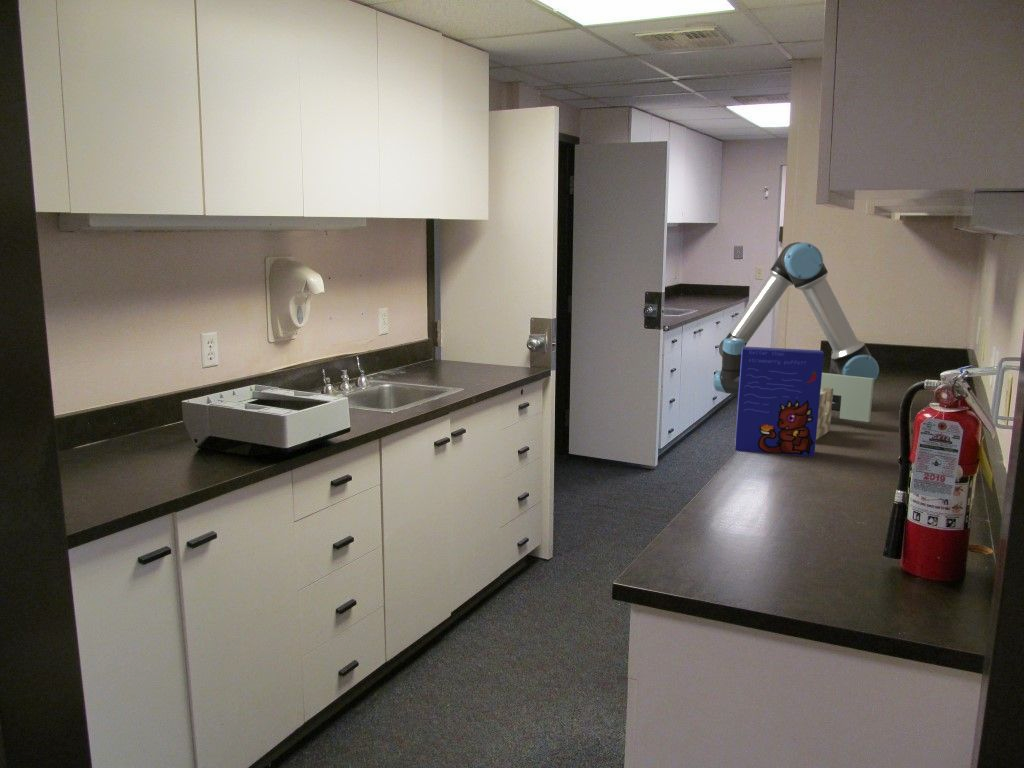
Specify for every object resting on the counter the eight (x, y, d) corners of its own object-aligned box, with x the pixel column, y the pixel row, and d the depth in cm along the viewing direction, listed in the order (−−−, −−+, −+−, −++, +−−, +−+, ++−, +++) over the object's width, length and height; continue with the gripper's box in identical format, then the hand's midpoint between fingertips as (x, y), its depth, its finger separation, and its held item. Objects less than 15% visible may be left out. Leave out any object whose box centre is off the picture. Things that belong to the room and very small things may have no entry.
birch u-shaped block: (821, 429, 265) (825, 387, 262) (829, 430, 263) (833, 388, 261) (802, 442, 249) (806, 397, 246) (810, 443, 248) (814, 398, 245)
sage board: (799, 412, 277) (802, 371, 274) (801, 411, 279) (804, 370, 276) (868, 422, 264) (872, 379, 262) (869, 420, 266) (874, 378, 264)
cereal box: (811, 451, 239) (821, 349, 233) (814, 456, 233) (823, 352, 228) (734, 445, 244) (742, 345, 238) (735, 450, 238) (742, 348, 233)
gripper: (765, 393, 292) (833, 402, 279) (749, 400, 280) (820, 410, 266) (766, 372, 291) (835, 380, 277) (751, 378, 278) (822, 387, 265)
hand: (827, 394), depth 272 cm, fingers closed on sage board, 2 cm apart
